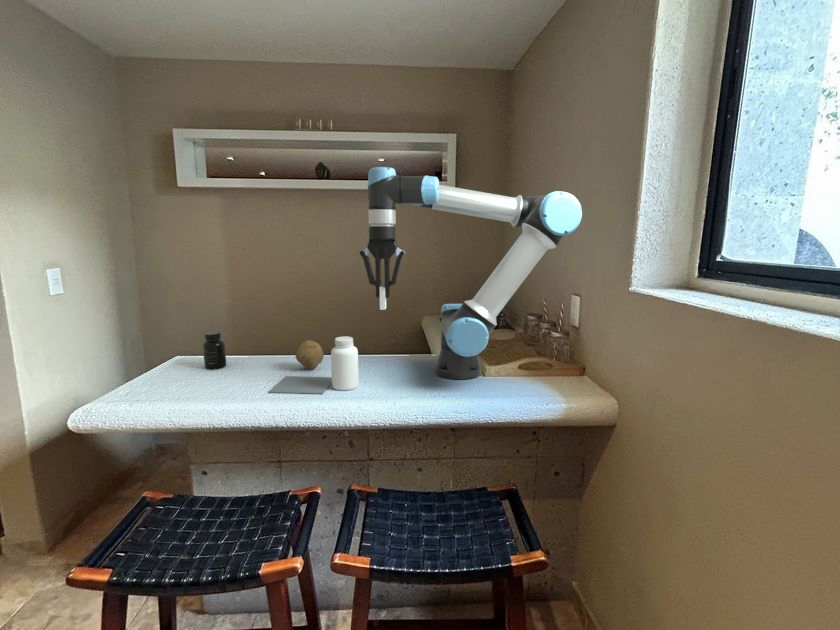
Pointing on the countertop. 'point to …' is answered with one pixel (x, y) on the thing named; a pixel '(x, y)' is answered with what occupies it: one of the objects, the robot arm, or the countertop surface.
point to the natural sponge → (309, 354)
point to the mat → (302, 385)
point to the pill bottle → (344, 364)
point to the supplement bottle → (214, 351)
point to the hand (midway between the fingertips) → (383, 308)
